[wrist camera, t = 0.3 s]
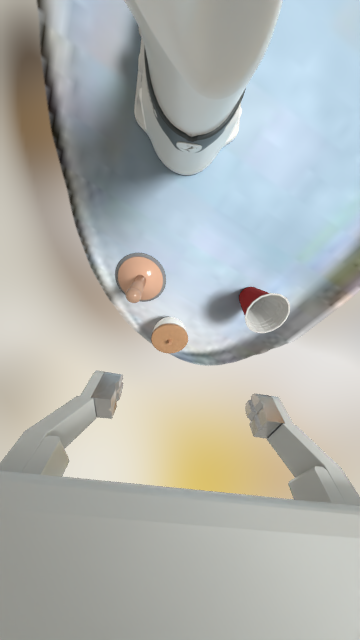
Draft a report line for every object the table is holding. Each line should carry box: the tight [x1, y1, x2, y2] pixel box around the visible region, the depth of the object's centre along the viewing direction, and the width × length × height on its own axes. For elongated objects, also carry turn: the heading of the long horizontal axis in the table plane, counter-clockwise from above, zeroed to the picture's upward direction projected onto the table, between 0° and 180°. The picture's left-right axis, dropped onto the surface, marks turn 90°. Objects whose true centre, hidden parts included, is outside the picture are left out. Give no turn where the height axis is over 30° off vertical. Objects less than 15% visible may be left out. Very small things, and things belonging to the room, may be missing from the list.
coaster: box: [116, 253, 166, 302], centre depth 45 cm, size 14×14×1 cm
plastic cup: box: [239, 287, 290, 333], centre depth 44 cm, size 11×11×12 cm
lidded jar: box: [151, 317, 188, 353], centre depth 50 cm, size 11×11×9 cm
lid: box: [118, 256, 163, 303], centre depth 39 cm, size 12×12×12 cm
